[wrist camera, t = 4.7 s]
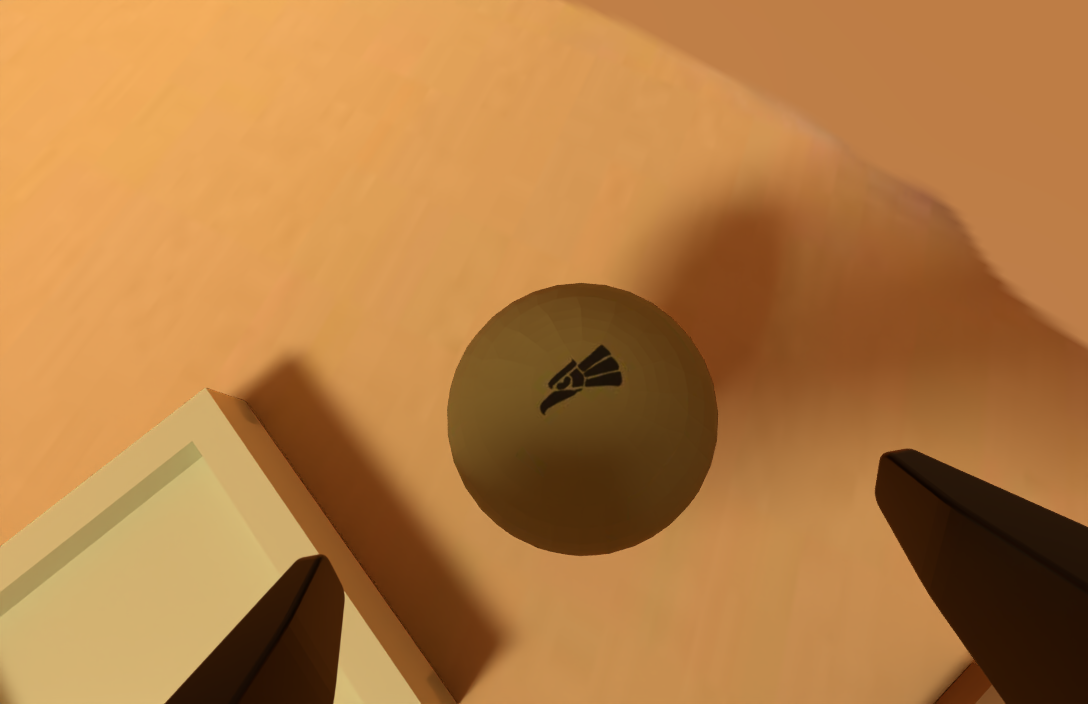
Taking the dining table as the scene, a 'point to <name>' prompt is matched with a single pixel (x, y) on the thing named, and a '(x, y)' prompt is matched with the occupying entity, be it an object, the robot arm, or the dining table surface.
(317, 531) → the tray
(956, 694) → the bookend
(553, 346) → the light bulb
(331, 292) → the dining table surface
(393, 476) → the dining table surface
